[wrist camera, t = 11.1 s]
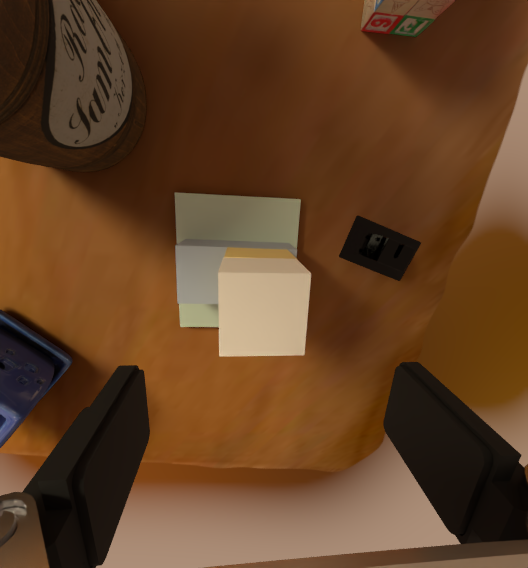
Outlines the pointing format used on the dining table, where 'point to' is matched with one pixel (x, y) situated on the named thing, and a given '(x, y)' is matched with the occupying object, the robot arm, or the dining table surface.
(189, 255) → the slate-blue long brick
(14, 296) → the dining table surface
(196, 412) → the dining table surface
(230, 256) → the mustard brick
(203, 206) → the green plate
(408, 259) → the black piece
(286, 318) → the cream brick
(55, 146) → the wooden container
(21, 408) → the flower pot
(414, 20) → the stack of blocks
